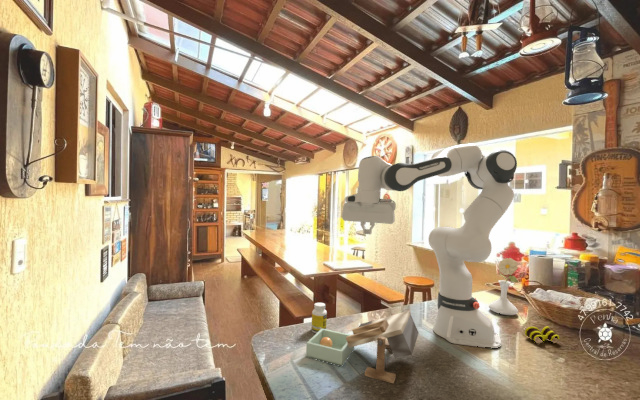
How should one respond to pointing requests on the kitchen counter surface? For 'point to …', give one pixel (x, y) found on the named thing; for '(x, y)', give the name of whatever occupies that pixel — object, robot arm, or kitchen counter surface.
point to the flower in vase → (505, 288)
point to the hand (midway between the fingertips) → (367, 234)
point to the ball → (326, 342)
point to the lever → (388, 333)
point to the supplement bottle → (319, 317)
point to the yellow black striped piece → (544, 334)
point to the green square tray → (328, 354)
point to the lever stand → (381, 362)
